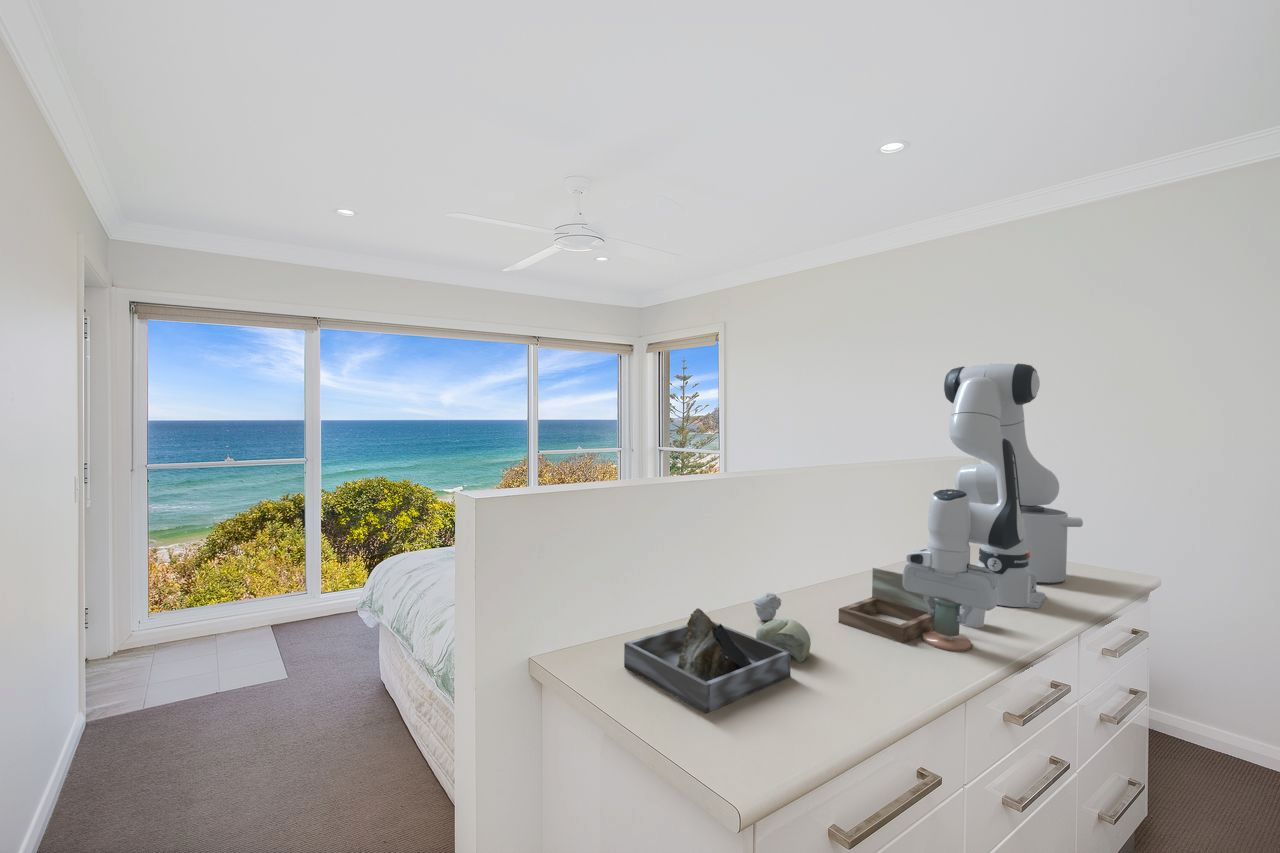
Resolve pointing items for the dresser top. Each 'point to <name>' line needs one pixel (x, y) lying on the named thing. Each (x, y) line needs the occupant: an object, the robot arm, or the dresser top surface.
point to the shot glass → (974, 617)
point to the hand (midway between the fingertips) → (947, 618)
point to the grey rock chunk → (767, 606)
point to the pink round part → (946, 641)
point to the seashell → (786, 637)
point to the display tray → (659, 666)
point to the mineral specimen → (709, 649)
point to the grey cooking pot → (1047, 542)
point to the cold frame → (889, 609)
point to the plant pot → (946, 617)
